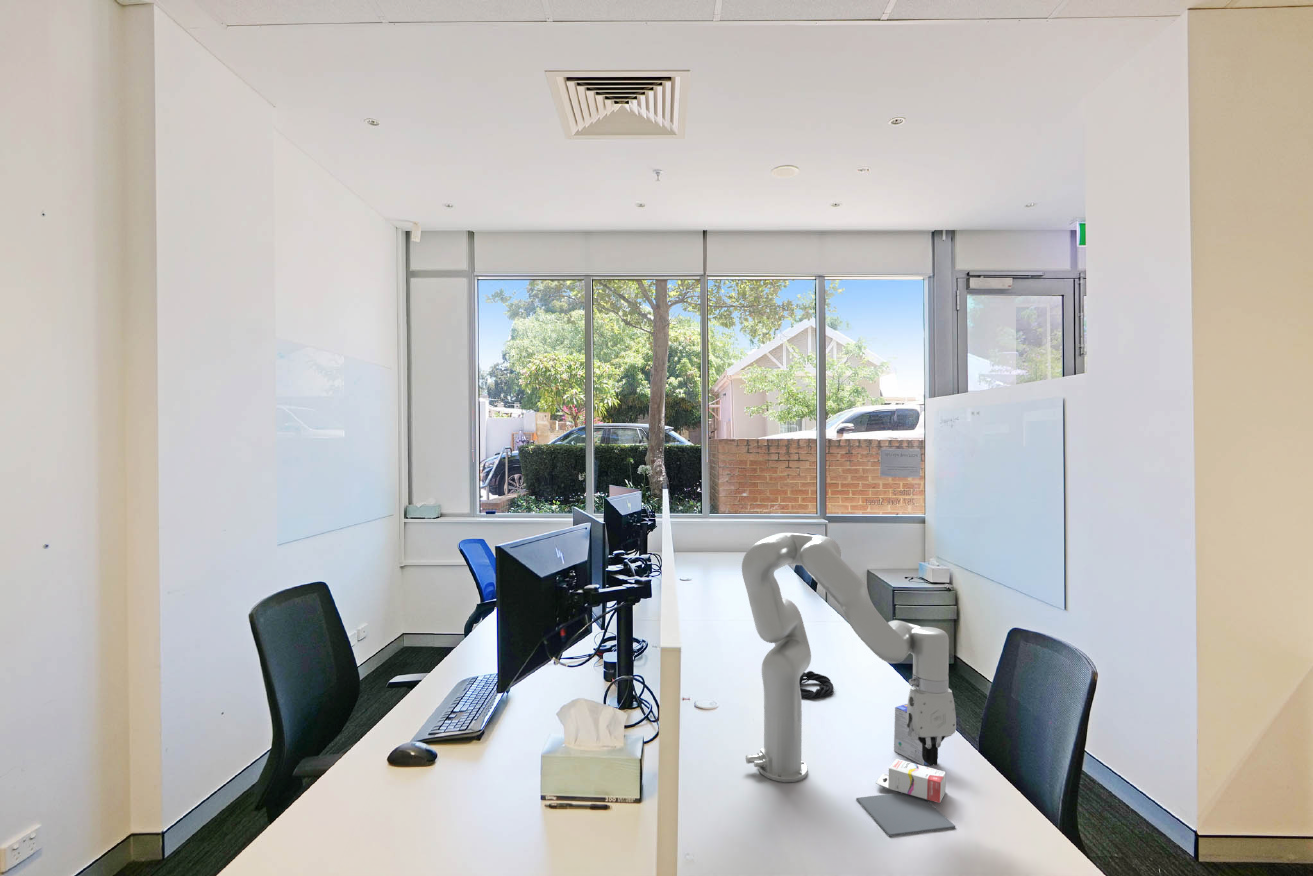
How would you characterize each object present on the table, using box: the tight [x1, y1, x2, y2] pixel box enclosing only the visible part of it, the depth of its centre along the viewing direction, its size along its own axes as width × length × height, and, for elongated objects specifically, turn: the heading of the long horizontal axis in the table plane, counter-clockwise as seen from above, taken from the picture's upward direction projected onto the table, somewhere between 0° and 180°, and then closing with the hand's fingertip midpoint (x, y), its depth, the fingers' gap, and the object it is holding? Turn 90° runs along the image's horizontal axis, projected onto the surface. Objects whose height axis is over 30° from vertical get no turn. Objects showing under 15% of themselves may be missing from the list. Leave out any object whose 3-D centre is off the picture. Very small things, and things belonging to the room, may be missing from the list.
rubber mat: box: [855, 792, 956, 837], centre depth 144 cm, size 16×14×1 cm
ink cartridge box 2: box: [875, 758, 947, 804], centre depth 154 cm, size 9×5×15 cm
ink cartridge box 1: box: [893, 703, 929, 767], centre depth 170 cm, size 10×6×14 cm, turn 31°
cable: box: [799, 670, 834, 700], centre depth 215 cm, size 17×14×4 cm
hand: (929, 762), depth 145 cm, fingers closed
